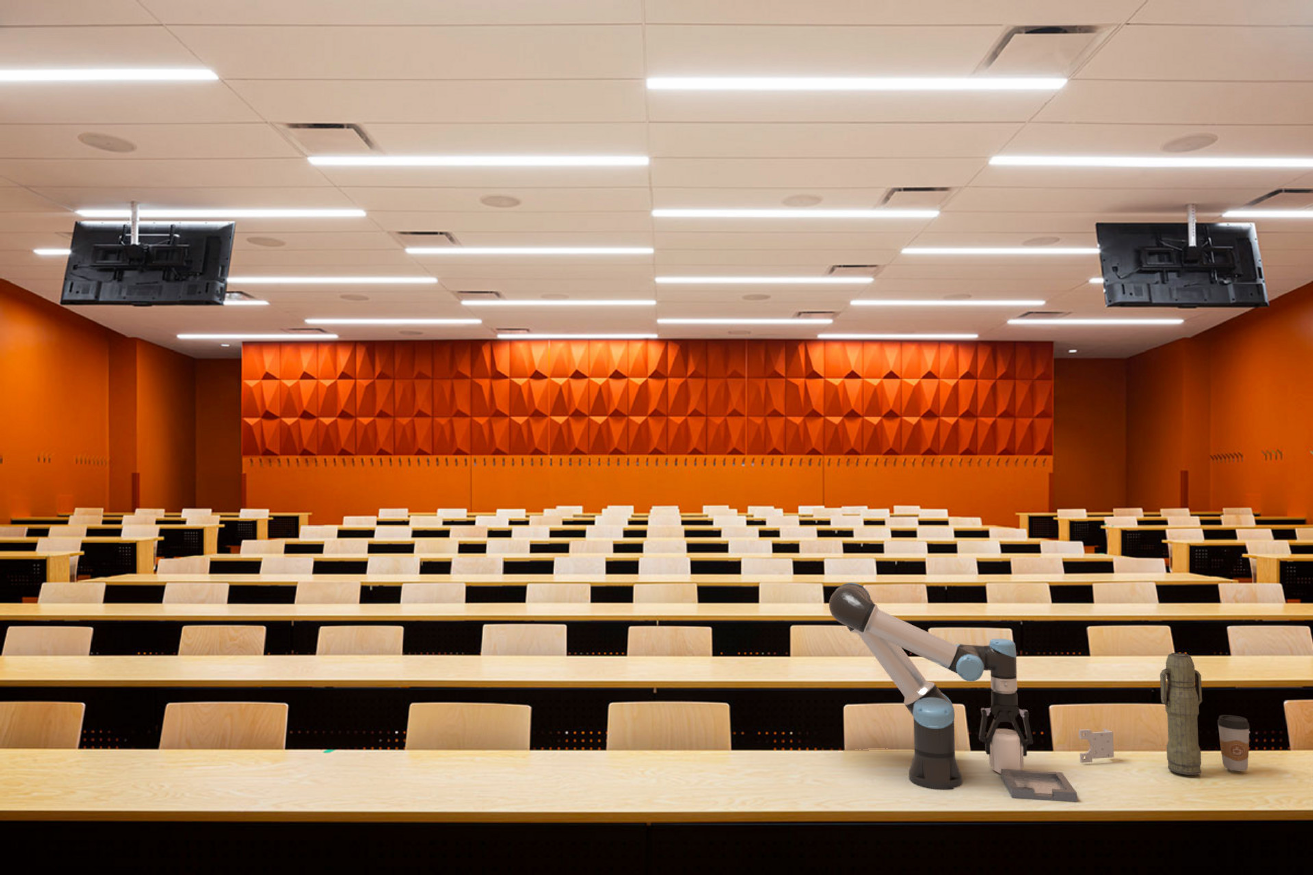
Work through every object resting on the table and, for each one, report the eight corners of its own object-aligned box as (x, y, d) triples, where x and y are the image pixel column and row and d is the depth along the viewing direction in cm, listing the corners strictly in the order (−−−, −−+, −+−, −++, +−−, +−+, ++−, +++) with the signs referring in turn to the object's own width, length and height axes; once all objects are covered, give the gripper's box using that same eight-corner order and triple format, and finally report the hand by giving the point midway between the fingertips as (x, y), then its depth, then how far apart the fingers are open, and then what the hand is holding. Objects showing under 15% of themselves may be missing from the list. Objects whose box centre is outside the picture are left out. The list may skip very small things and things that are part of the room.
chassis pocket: (1012, 797, 243) (1011, 788, 243) (1001, 777, 259) (1000, 768, 259) (1077, 801, 239) (1076, 792, 239) (1062, 780, 256) (1061, 772, 256)
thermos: (1213, 773, 260) (1208, 656, 262) (1177, 775, 258) (1172, 658, 260) (1191, 764, 269) (1186, 650, 270) (1156, 766, 267) (1152, 652, 269)
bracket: (1105, 756, 277) (1103, 724, 278) (1114, 760, 273) (1112, 728, 274) (1073, 758, 276) (1071, 726, 276) (1081, 762, 272) (1080, 730, 272)
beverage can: (1021, 769, 266) (1020, 729, 267) (1020, 777, 259) (1019, 737, 259) (993, 765, 269) (992, 726, 270) (991, 774, 262) (990, 734, 263)
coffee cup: (1222, 770, 263) (1220, 720, 263) (1216, 761, 270) (1214, 713, 271) (1254, 773, 260) (1252, 723, 260) (1247, 764, 267) (1245, 715, 268)
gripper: (970, 692, 264) (972, 767, 263) (1043, 695, 259) (1045, 771, 258) (966, 686, 271) (968, 759, 270) (1037, 689, 267) (1040, 763, 266)
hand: (1006, 765), depth 264 cm, fingers closed on beverage can, 8 cm apart
